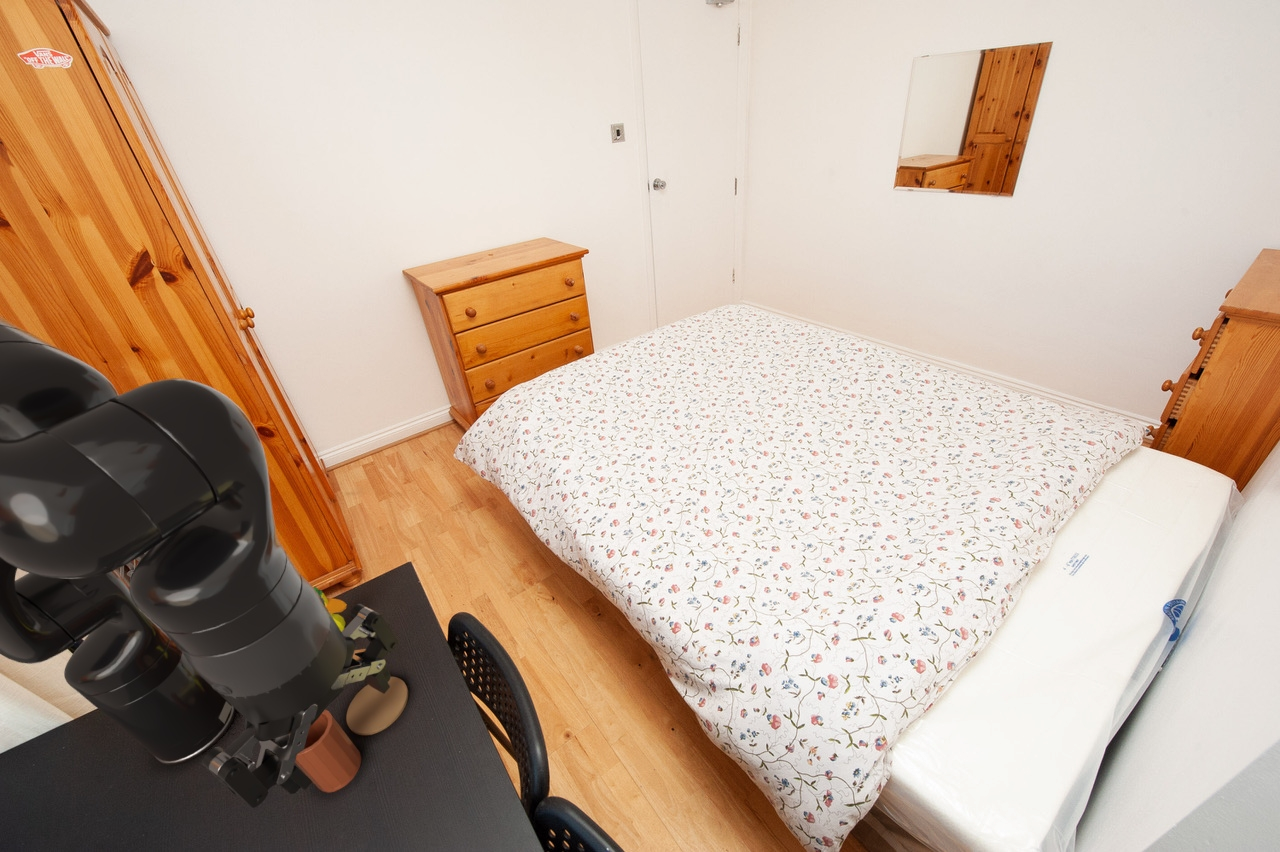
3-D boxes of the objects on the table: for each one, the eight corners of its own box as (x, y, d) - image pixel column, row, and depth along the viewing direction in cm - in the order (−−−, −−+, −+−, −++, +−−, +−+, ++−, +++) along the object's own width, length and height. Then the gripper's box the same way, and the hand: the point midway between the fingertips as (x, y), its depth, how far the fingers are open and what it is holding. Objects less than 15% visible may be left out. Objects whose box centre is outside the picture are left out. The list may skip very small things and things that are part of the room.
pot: (307, 785, 65) (272, 747, 60) (339, 743, 70) (309, 704, 64) (339, 798, 64) (306, 760, 58) (370, 753, 68) (341, 715, 63)
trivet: (334, 726, 72) (332, 724, 71) (376, 672, 78) (374, 670, 78) (381, 742, 69) (379, 740, 69) (420, 685, 76) (419, 683, 76)
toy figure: (370, 629, 85) (342, 582, 79) (358, 648, 82) (328, 601, 76) (334, 628, 86) (304, 581, 80) (321, 647, 83) (289, 599, 77)
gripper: (318, 547, 42) (373, 645, 52) (120, 713, 31) (237, 795, 41) (387, 581, 39) (430, 676, 49) (198, 771, 29) (302, 843, 39)
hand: (343, 730), depth 45 cm, fingers open, 8 cm apart
